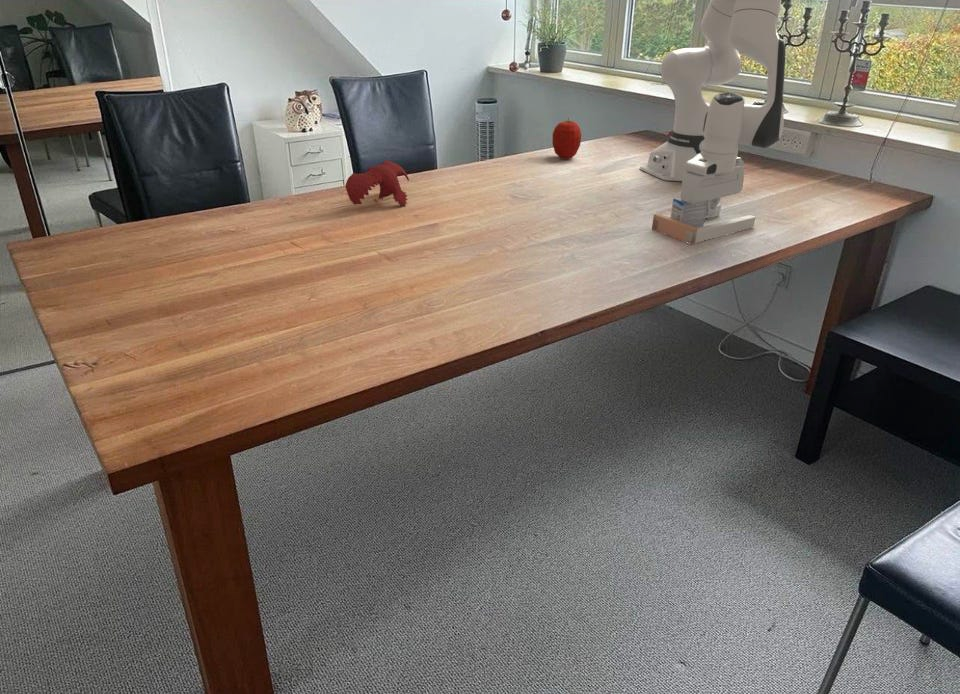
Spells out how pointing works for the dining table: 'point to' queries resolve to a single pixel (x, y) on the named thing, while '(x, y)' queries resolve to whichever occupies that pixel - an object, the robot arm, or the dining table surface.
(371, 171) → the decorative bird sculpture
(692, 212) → the medicine box
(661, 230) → the shallow open rectangular tray
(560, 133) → the apple
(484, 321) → the dining table surface
